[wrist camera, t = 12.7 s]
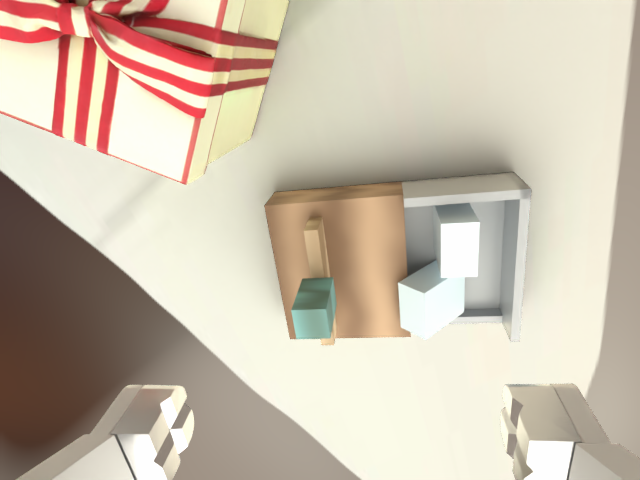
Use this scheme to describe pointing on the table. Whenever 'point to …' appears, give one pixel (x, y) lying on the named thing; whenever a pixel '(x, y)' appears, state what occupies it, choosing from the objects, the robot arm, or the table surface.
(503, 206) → the tray
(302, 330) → the teal-headed mallet
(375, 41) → the table surface
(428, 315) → the tile far
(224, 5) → the gift box
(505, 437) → the robot arm
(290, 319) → the tan wooden board
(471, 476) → the table surface
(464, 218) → the tile near
